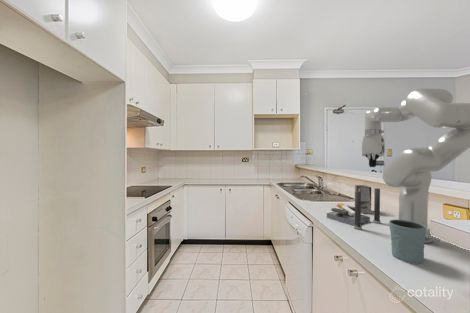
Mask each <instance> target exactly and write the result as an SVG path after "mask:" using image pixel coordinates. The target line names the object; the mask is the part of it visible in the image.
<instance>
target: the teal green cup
mask: <svg viewBox="0 0 470 313" xmlns="http://www.w3.org/2000/svg"><path fill="white" fill-rule="evenodd" d="M388 224H389V231H390V240H391V254H392V257H394V258H395V259H397V260H399V261H401V260H402V262H404V261H405V263H408V262H409V263H408V264H413V263H415V264H416V265H418V264H417V263H421V264H423V263H424V259H425V258H424V257H425V253H424V252H425V251H424V250H425V246H426V245H425V243H424V242H425V233H426V226H424V225H423V224H420V223H417V222H413V221H407V220H399V219H391V220H389V222H388ZM415 264H414V265H415Z"/></svg>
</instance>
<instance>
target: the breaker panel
mask: <svg viewBox="0 0 470 313" xmlns="http://www.w3.org/2000/svg"><path fill="white" fill-rule="evenodd" d="M346 206H347V207H348V208H350V209H351V210H353V211H354V212H355V206H350V205H346ZM326 218H328V219H330V220H333V221H337V222H339V223H344V224H346V225H350V226H353V227H354V225H355V215H352V216H350V215H349V214H348V211H345V210H342V209H340V208H337V207H333V208H332V207H331V212H326ZM370 221H371V217H370V216H368V215H363V214H361V225H363V224H366V223H369V222H370Z"/></svg>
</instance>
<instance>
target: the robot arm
mask: <svg viewBox="0 0 470 313" xmlns="http://www.w3.org/2000/svg"><path fill="white" fill-rule="evenodd" d="M453 100H454V97H453V93H452V92H451V91H449V90H447V89H444V88H426V87H423V88H422V87H421V88H416V89H415V90H412V91H411V92H409V94H407V95H406V98H404V99H403V100H402V101H401V103H400V105H399V106H378V107H377V106H376V107H375V108H373V109H370V110H367V111H366V112H365V113H364V136H363V138H362V142H361V153H362V154H361V155H362V157H366V158H367V160H368V165H369V168H376V166H377V160H378V159H379V158H381V157H384V156H385V154H386V145H385V137H384V135H383V134H384V133H385V130H384V129H383V130H382V123H399V122H404V121H409V120H411V119H414V117H417V118H418V119H420V120H421V121H423V122H424V123H426V125H428V126H431V127H433V128H438V129H439V128H440V129H451V130H449V131H447V132H446V133H443V134H442V135H440V136H439V137H437V138H436V140H434V141H433V142H432V143H431V144H429V145H428V146H425V147H409V148H406V149H404V150H402V151H401V152H400V153H398V154H397V156H396V157H395V158H394V159H392V160H391V162H389V163H388V165H387V166H386V167H385V168H384V169H383V172H382V181H383V182H384V183H385V184H386V185H387V186H389V187H393V188H401V190H400V192H399V196H398V220H407V221H413V222H417V223H420V224H423V225H424V226H426V233H425V242H424V244H430V243H432V242H433V241H437V242H441V239H442V238H441V239H439V238H436V237H433V236H431V234H430V232H431V229H429V228H428V214H429V213H428V212H429V210H428V207H429V206H428V204H429V190H430V185H431V182H432V172H438V171H441V170H442V169H444V168H445V167H447V166H448V165H449V164H451V163H452V162H453V161H454V160H456V159H457V158H458V157H460V156H461V155H462V154H464V153H465V152H466V151H467V150H469V149H470V102H469V103H467V102H466V103H465V102H453Z"/></svg>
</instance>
